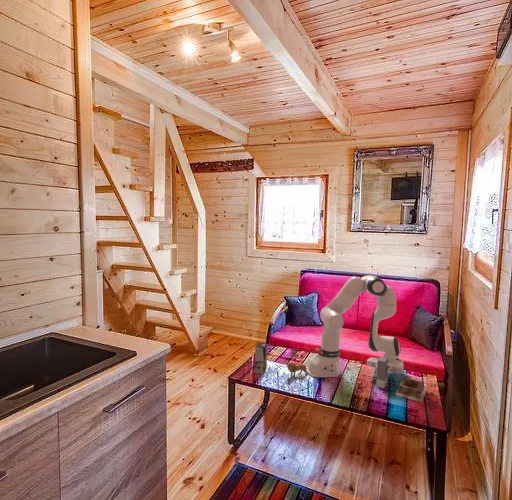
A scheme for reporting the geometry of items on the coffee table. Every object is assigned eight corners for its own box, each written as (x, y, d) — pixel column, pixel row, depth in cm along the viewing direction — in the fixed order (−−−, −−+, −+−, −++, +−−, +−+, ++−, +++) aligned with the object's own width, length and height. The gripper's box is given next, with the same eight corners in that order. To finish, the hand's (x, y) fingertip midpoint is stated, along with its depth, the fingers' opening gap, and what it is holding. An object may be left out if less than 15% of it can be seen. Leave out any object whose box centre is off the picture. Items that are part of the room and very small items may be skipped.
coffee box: (264, 374, 199) (265, 347, 198) (254, 372, 200) (254, 346, 200) (267, 368, 208) (267, 343, 207) (257, 367, 209) (257, 342, 209)
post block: (395, 394, 176) (395, 385, 176) (401, 384, 190) (401, 375, 189) (422, 402, 169) (422, 392, 169) (426, 390, 182) (426, 381, 182)
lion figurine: (290, 379, 192) (290, 364, 192) (284, 376, 197) (285, 361, 196) (309, 374, 199) (310, 360, 199) (304, 371, 204) (304, 357, 204)
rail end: (376, 386, 186) (377, 360, 186) (379, 381, 192) (380, 356, 192) (384, 388, 184) (385, 361, 183) (387, 383, 190) (388, 358, 189)
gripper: (370, 353, 204) (363, 360, 193) (405, 361, 193) (401, 368, 181) (369, 363, 204) (363, 370, 193) (405, 371, 193) (400, 380, 181)
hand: (382, 369), depth 187 cm, fingers closed on rail end, 4 cm apart
